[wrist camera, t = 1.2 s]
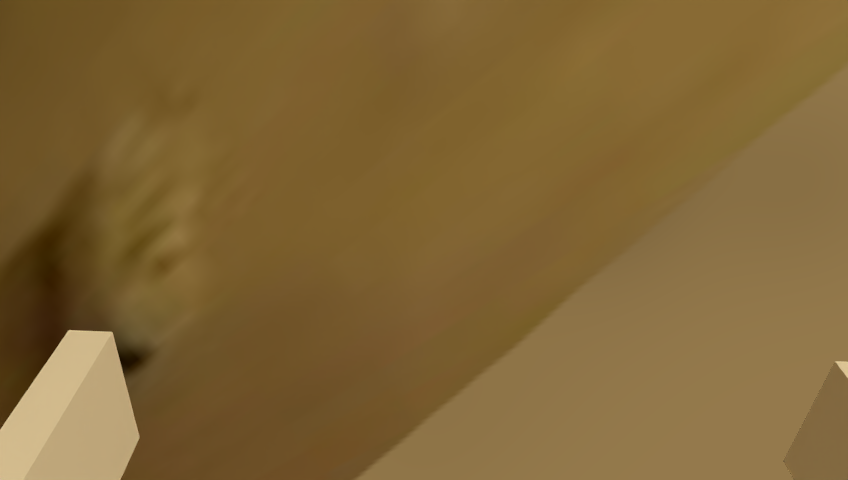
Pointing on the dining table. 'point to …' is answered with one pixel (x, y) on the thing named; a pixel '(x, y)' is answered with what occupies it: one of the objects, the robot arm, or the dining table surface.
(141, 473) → the dining table surface
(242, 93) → the dining table surface
